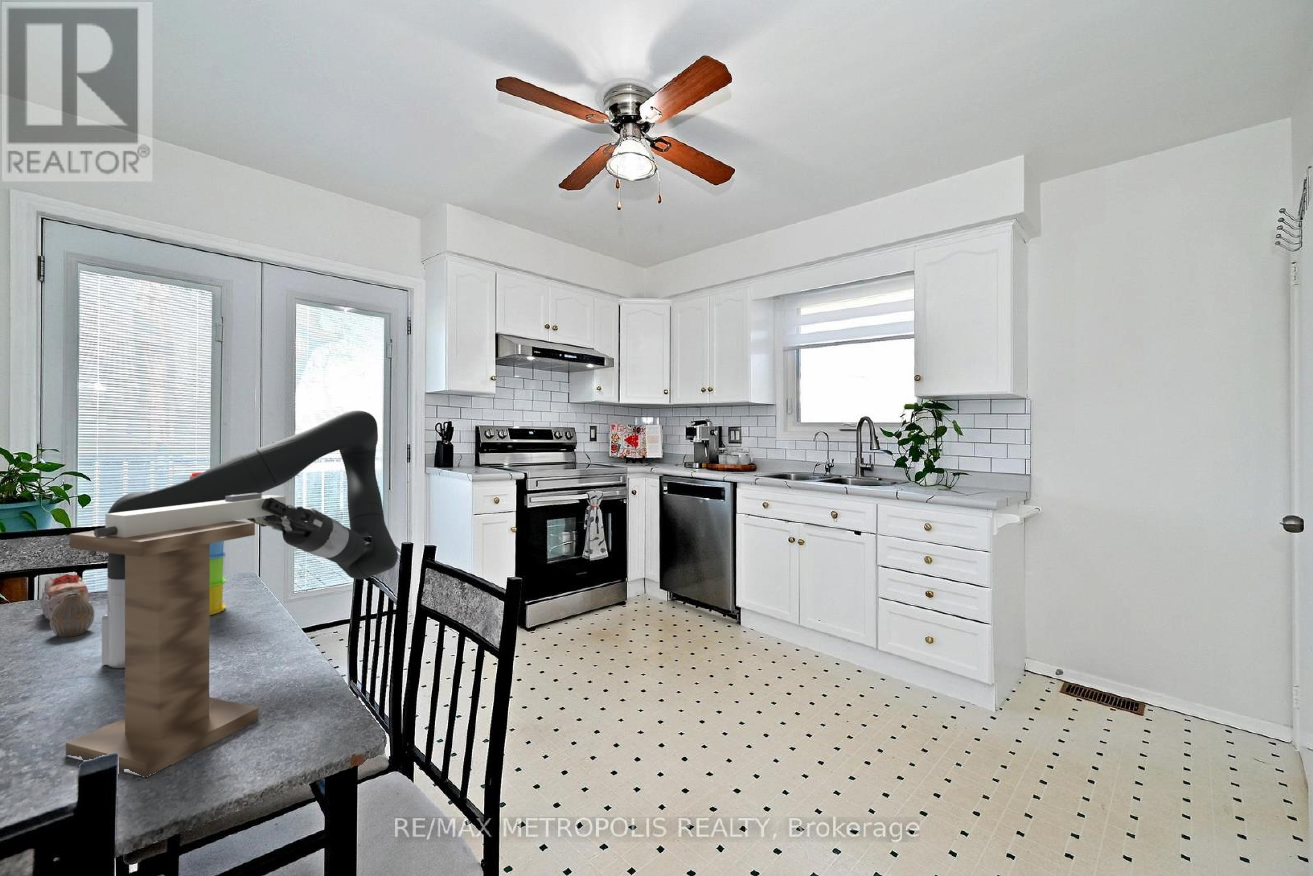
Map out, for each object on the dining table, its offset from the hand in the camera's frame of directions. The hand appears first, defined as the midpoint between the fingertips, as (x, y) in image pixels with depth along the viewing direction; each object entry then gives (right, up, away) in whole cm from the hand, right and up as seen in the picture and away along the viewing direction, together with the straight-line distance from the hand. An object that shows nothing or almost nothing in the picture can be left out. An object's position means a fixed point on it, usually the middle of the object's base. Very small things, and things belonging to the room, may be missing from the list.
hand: (247, 501), depth 97 cm
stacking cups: (-43, -33, +43) cm, 69 cm away
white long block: (-2, -3, -7) cm, 8 cm away
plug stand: (-4, -35, -11) cm, 37 cm away
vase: (-59, -33, +28) cm, 73 cm away
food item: (-72, -32, +39) cm, 88 cm away
